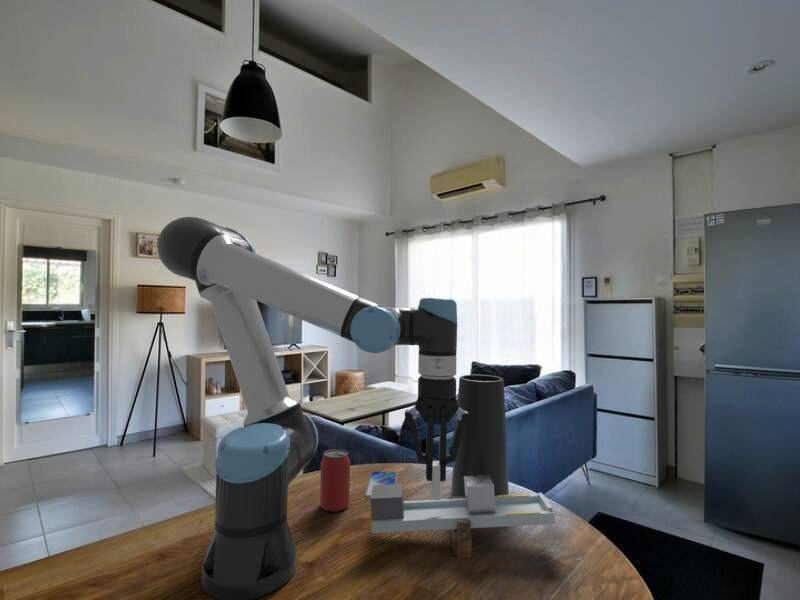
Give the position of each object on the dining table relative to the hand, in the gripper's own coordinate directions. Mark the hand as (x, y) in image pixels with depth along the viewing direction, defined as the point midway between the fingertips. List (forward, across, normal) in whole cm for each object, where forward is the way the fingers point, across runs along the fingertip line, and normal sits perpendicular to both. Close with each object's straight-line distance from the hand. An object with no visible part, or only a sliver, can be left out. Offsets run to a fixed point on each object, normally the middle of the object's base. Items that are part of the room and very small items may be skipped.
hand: (435, 496), depth 80 cm
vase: (+9, +12, +19) cm, 24 cm away
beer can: (+9, -22, +13) cm, 27 cm away
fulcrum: (+9, +5, 0) cm, 10 cm away
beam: (+4, +5, 0) cm, 6 cm away
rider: (+3, +9, 0) cm, 9 cm away
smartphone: (+9, -12, +25) cm, 29 cm away
